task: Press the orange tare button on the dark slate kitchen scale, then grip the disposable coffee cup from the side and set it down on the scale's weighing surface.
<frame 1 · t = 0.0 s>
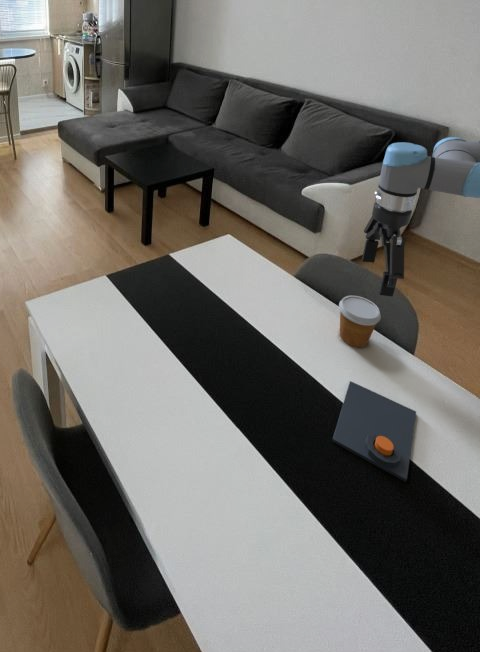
hand: (376, 277, 111), 21 cm above the table, tool pointing down, fingers open, 13 cm apart
tare button: (384, 445, 88), point 4 cm above the table, slide at 0.1 cm
disposable coffee cup: (352, 341, 118), on the table
scale: (373, 430, 95), on the table
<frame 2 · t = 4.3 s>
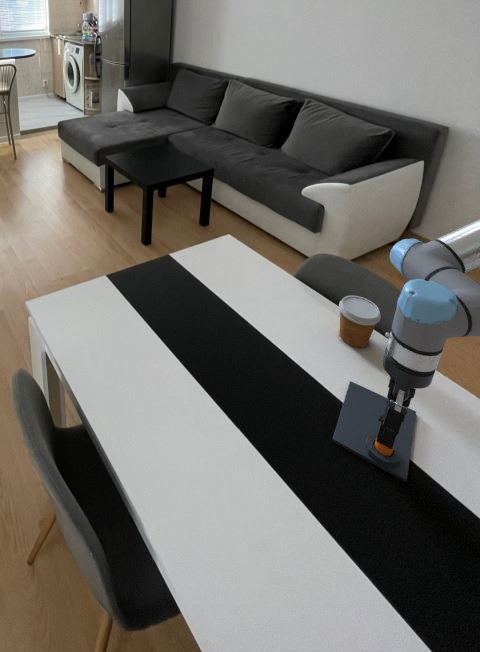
hand: (384, 442, 88), 5 cm above the table, tool pointing down, fingers closed
tare button: (384, 445, 88), point 4 cm above the table, slide at 0.1 cm, touching gripper
everything else where it was.
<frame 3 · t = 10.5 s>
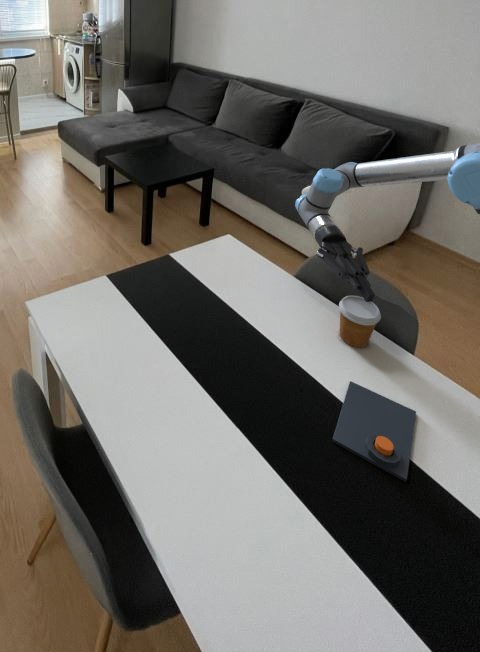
hand: (370, 298, 111), 16 cm above the table, tool horizontal, fingers closed
tare button: (384, 445, 88), point 4 cm above the table, slide at 0.1 cm
everything else where it was.
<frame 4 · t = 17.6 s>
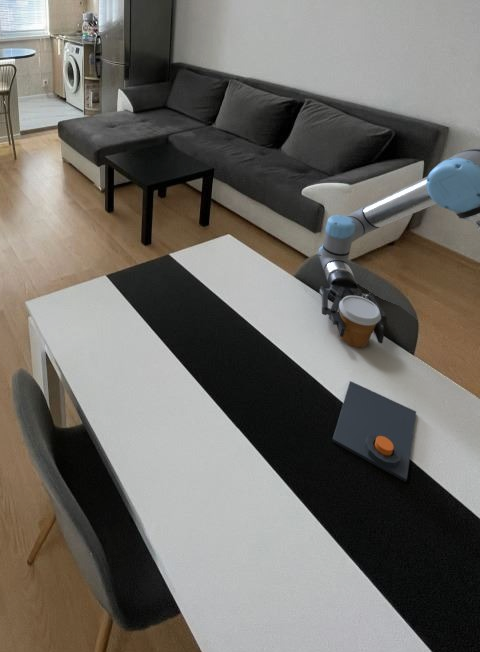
hand: (361, 335, 111), 6 cm above the table, tool horizontal, fingers closed on disposable coffee cup, 8 cm apart
disposable coffee cup: (352, 341, 118), on the table, touching gripper
everything else where it was.
when the fingers open (8 cm above the table, at t = 26.2 s): disposable coffee cup stays where it is, resting on scale.
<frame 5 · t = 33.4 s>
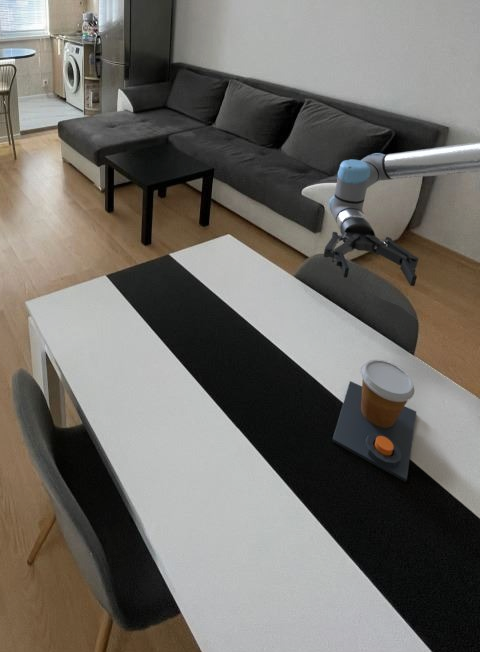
hand: (379, 277, 100), 28 cm above the table, tool horizontal, fingers open, 13 cm apart
disposable coffee cup: (377, 415, 96), point 2 cm above the table, touching scale
everything else where it was.
at the end: tare button pushed in 0.8 cm at the most during the clip, back to where it started at the end; disposable coffee cup inside the target area on the scale (0.2 cm from its centre), point 1.7 cm above the scale's base; disposable coffee cup touching scale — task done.
